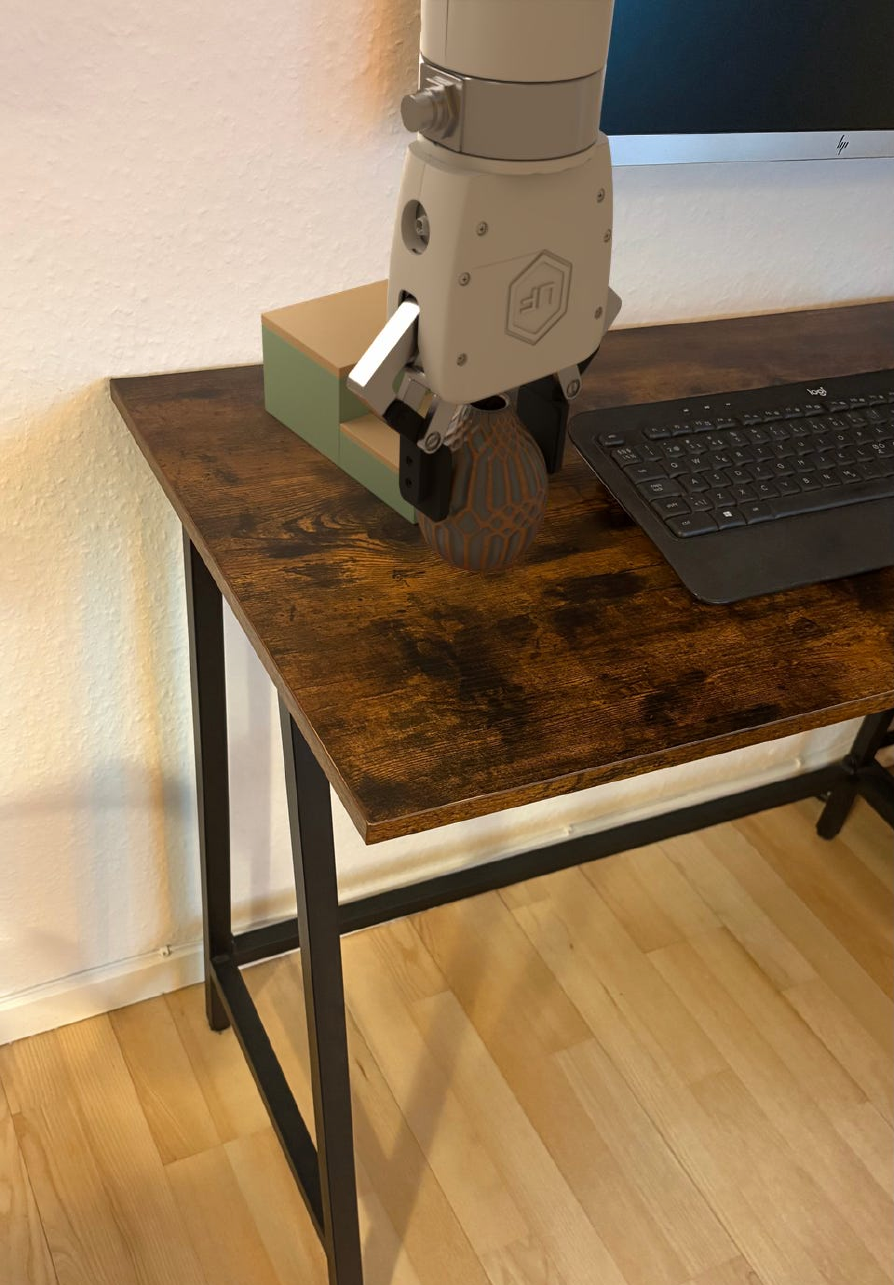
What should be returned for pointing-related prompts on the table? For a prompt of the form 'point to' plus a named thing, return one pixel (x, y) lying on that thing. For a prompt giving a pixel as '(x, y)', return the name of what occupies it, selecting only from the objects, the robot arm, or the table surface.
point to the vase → (489, 488)
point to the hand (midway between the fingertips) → (481, 482)
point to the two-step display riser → (334, 385)
